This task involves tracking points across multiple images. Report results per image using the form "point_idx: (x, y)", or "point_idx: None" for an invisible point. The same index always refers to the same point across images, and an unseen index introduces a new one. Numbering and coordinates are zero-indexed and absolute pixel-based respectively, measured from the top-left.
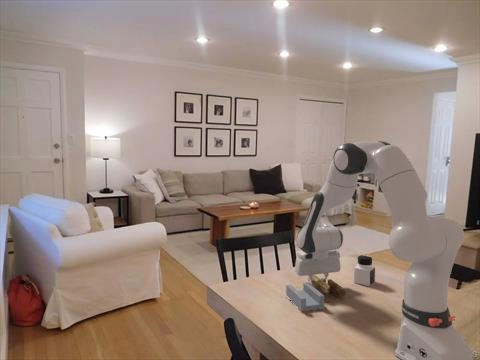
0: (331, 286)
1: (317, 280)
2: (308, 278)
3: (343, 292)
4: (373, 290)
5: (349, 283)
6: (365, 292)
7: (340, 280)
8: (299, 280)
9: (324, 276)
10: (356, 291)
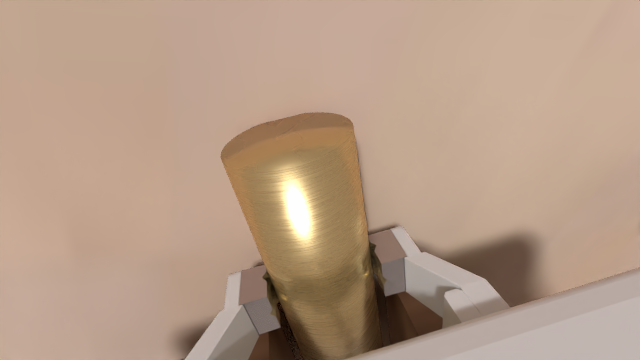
0: (402, 338)
1: (310, 334)
2: (225, 169)
3: None
4: (634, 261)
5: (613, 154)
6: (571, 288)
7: (608, 72)
8: (92, 23)
9: (428, 287)
10: (538, 282)
